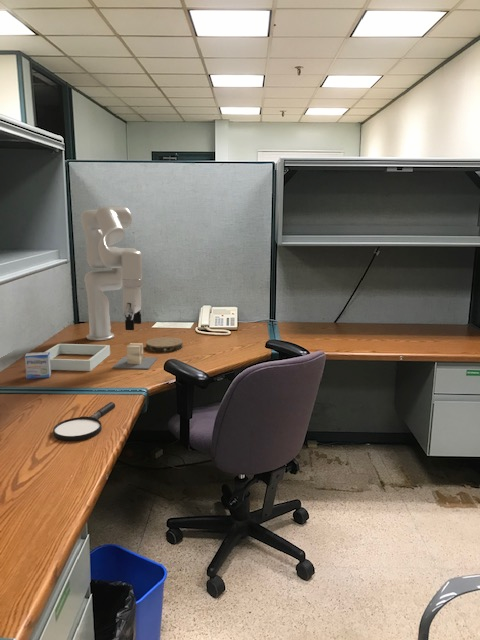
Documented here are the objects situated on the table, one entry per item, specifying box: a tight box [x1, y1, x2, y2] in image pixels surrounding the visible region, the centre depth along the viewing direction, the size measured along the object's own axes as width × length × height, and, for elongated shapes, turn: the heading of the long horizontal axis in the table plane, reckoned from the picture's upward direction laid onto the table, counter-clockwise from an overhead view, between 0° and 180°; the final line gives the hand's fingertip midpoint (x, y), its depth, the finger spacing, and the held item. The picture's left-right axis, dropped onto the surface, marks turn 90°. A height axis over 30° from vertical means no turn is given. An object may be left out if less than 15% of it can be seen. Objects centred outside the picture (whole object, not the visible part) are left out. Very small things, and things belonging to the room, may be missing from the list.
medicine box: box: [24, 351, 52, 380], centre depth 176 cm, size 8×4×9 cm, turn 105°
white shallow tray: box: [44, 343, 111, 372], centre depth 194 cm, size 22×22×4 cm
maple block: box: [126, 342, 144, 364], centre depth 192 cm, size 5×5×7 cm
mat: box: [111, 356, 158, 370], centre depth 193 cm, size 14×14×1 cm
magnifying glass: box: [52, 401, 116, 443], centre depth 138 cm, size 12×24×2 cm, turn 164°
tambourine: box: [145, 336, 184, 354], centre depth 215 cm, size 16×16×3 cm
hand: (133, 326), depth 190 cm, fingers open, 9 cm apart
